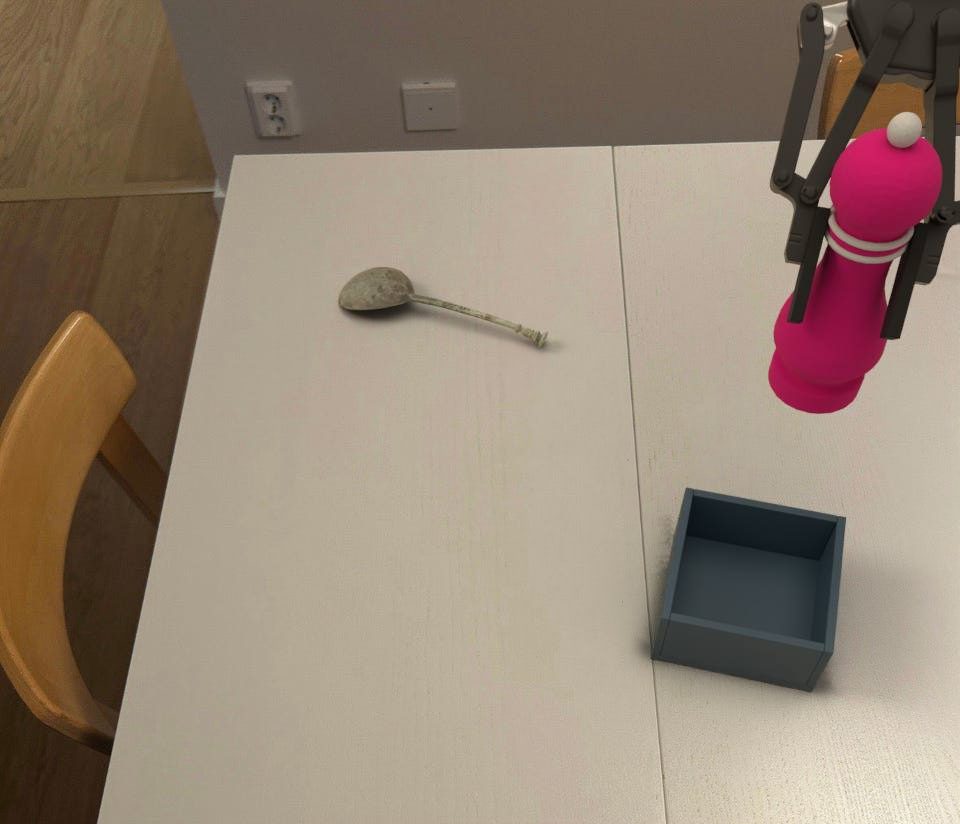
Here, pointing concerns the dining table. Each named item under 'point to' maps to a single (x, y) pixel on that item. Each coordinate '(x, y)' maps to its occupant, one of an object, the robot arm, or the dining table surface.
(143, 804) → the dining table surface
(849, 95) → the robot arm
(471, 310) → the soupspoon
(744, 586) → the box
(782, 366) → the pepper mill
